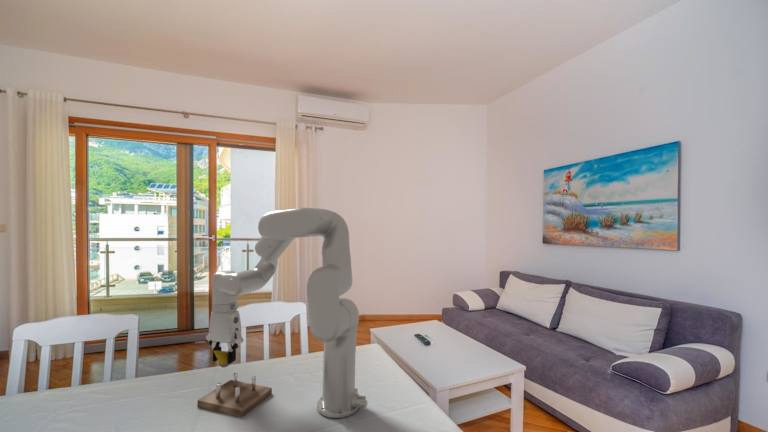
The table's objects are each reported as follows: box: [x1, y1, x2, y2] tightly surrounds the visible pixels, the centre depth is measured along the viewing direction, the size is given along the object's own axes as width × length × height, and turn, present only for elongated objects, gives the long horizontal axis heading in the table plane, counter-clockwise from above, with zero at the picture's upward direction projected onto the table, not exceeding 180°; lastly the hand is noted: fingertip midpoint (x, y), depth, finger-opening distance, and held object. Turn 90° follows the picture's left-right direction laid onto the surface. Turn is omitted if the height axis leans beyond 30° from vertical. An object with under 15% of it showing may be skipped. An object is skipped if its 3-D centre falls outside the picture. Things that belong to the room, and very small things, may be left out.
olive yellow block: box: [212, 350, 232, 368], centre depth 109 cm, size 5×5×10 cm
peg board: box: [196, 372, 273, 418], centre depth 98 cm, size 16×13×6 cm
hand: (224, 360), depth 109 cm, fingers closed on olive yellow block, 5 cm apart
